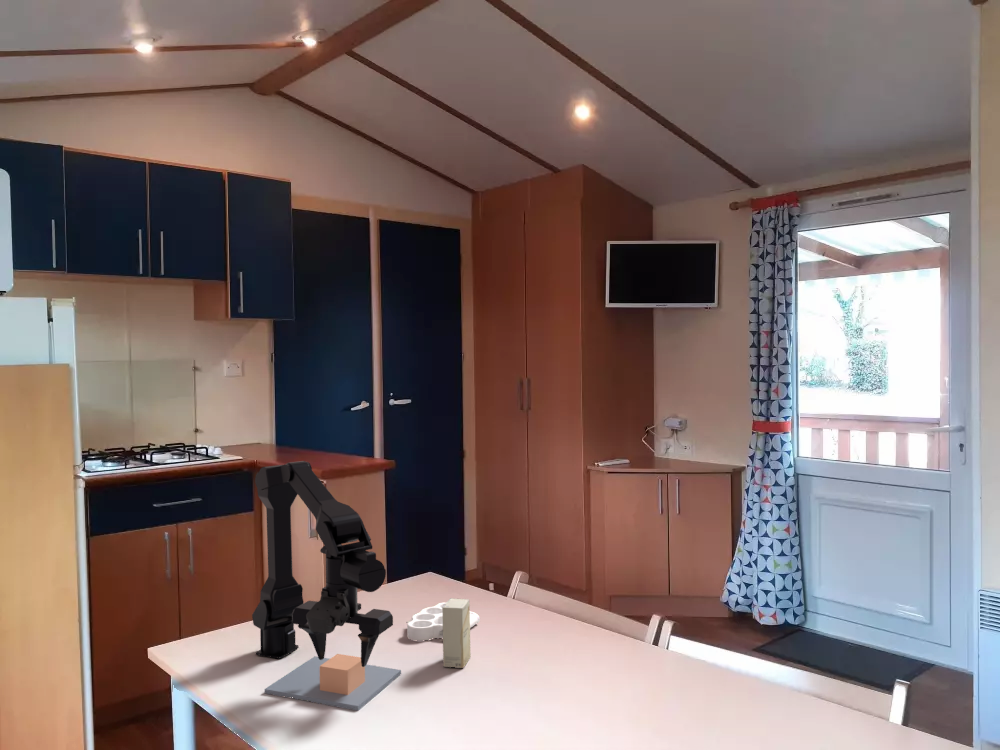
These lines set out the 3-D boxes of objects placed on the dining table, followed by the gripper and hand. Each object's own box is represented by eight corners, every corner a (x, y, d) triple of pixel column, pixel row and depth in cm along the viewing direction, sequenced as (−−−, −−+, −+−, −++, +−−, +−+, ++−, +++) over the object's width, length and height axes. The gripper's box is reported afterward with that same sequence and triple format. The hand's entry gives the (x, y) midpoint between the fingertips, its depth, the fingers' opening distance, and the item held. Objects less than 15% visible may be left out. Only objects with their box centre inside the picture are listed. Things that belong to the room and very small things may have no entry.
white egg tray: (450, 648, 160) (392, 638, 166) (485, 621, 176) (431, 613, 182) (450, 633, 160) (392, 623, 165) (485, 607, 176) (431, 599, 182)
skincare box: (463, 669, 148) (463, 608, 148) (442, 667, 149) (441, 607, 149) (471, 656, 154) (470, 598, 154) (450, 655, 155) (449, 597, 155)
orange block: (319, 690, 138) (319, 666, 137) (337, 676, 143) (337, 653, 143) (347, 695, 135) (347, 670, 135) (364, 681, 141) (364, 658, 141)
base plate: (264, 693, 138) (264, 673, 138) (314, 660, 153) (314, 641, 153) (358, 710, 131) (357, 689, 131) (401, 674, 146) (400, 654, 146)
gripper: (272, 587, 134) (273, 672, 135) (362, 598, 128) (363, 688, 128) (309, 570, 145) (310, 649, 145) (393, 580, 138) (394, 663, 139)
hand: (342, 662), depth 139 cm, fingers open, 9 cm apart
